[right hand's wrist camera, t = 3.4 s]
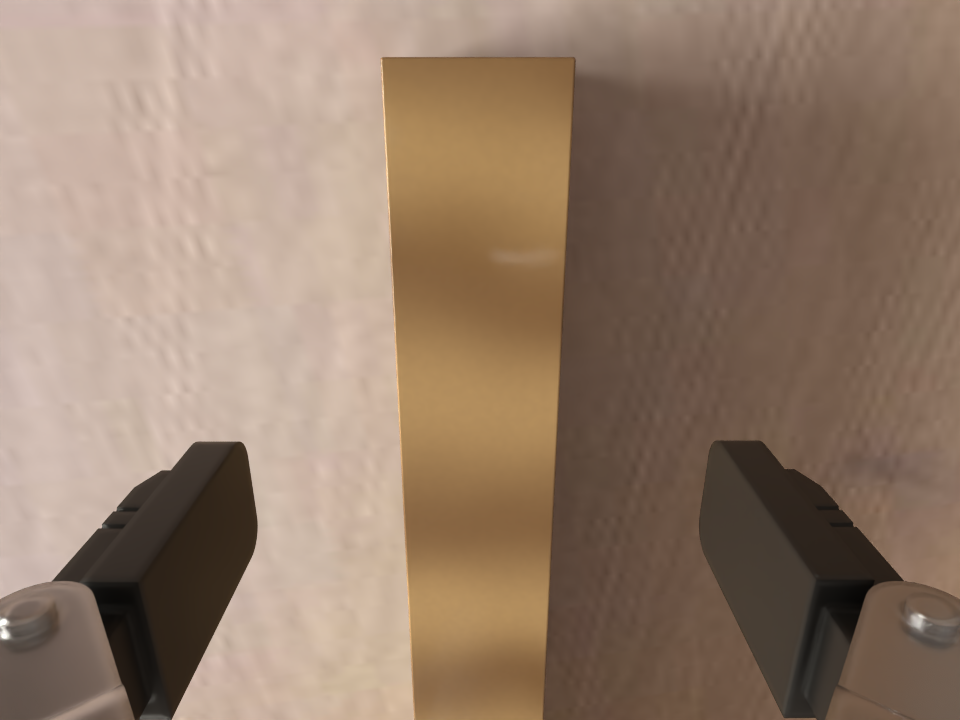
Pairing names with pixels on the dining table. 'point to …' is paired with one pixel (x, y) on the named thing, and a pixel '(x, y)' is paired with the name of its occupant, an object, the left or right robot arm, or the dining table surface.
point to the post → (478, 365)
